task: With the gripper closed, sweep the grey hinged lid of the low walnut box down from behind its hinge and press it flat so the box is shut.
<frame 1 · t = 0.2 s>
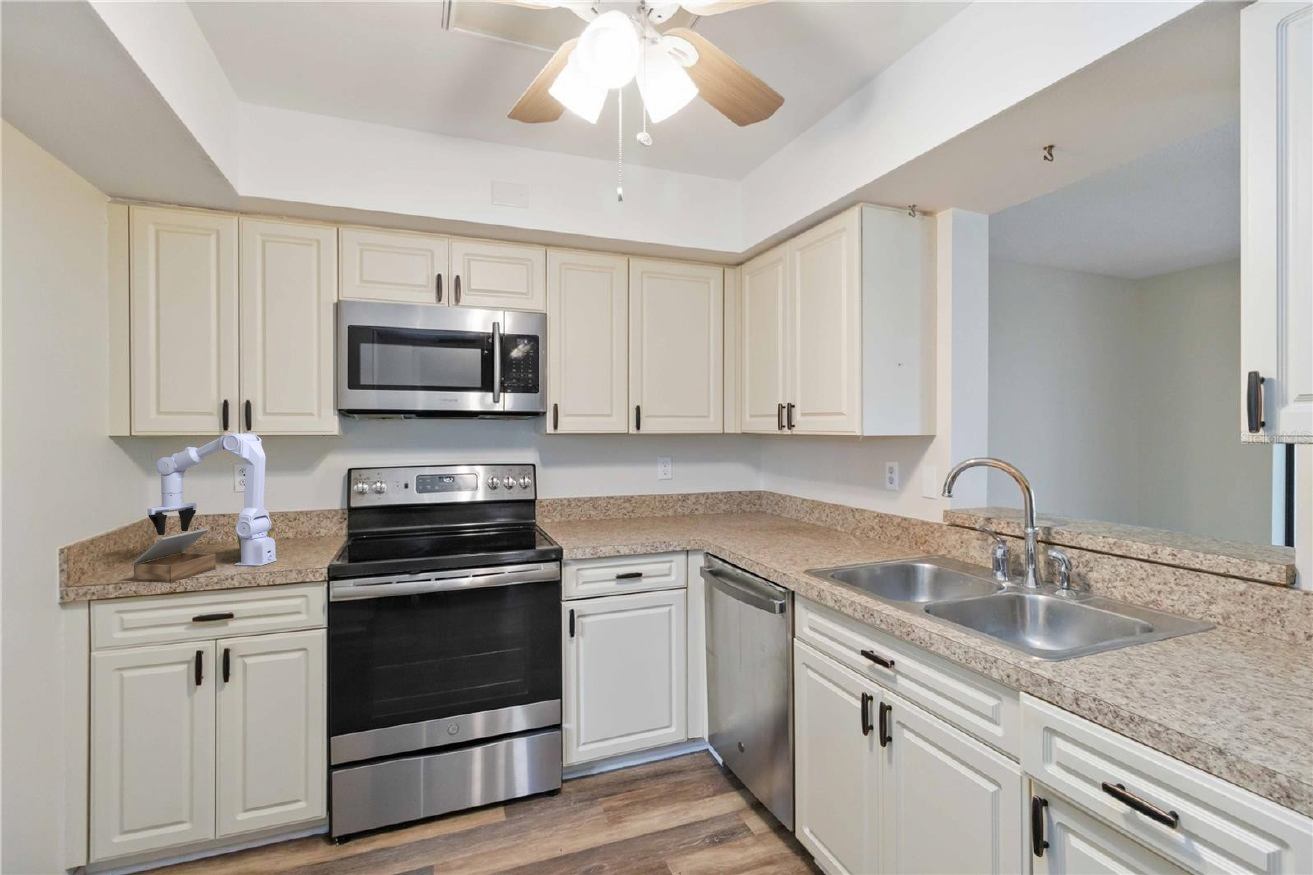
hand: (173, 533, 202), 10 cm above the worktop, tool pointing down, fingers open, 7 cm apart
lid: (172, 545, 186), point 9 cm above the worktop, hinge at 38.0°
box base: (176, 575, 186), on the worktop
plant pot: (253, 555, 215), on the worktop
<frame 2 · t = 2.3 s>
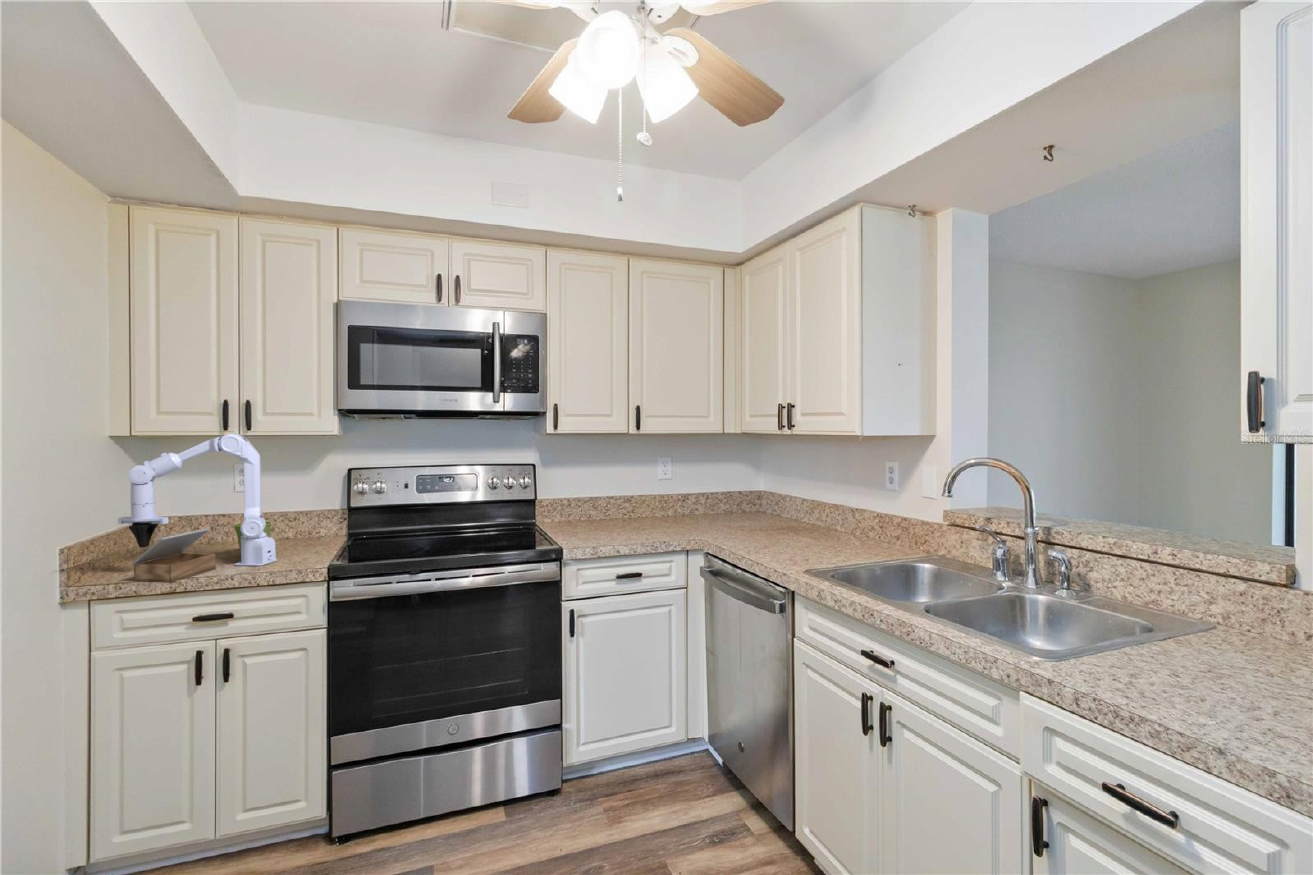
hand: (143, 546, 188), 8 cm above the worktop, tool pointing down, fingers closed
nothing on the worktop moved.
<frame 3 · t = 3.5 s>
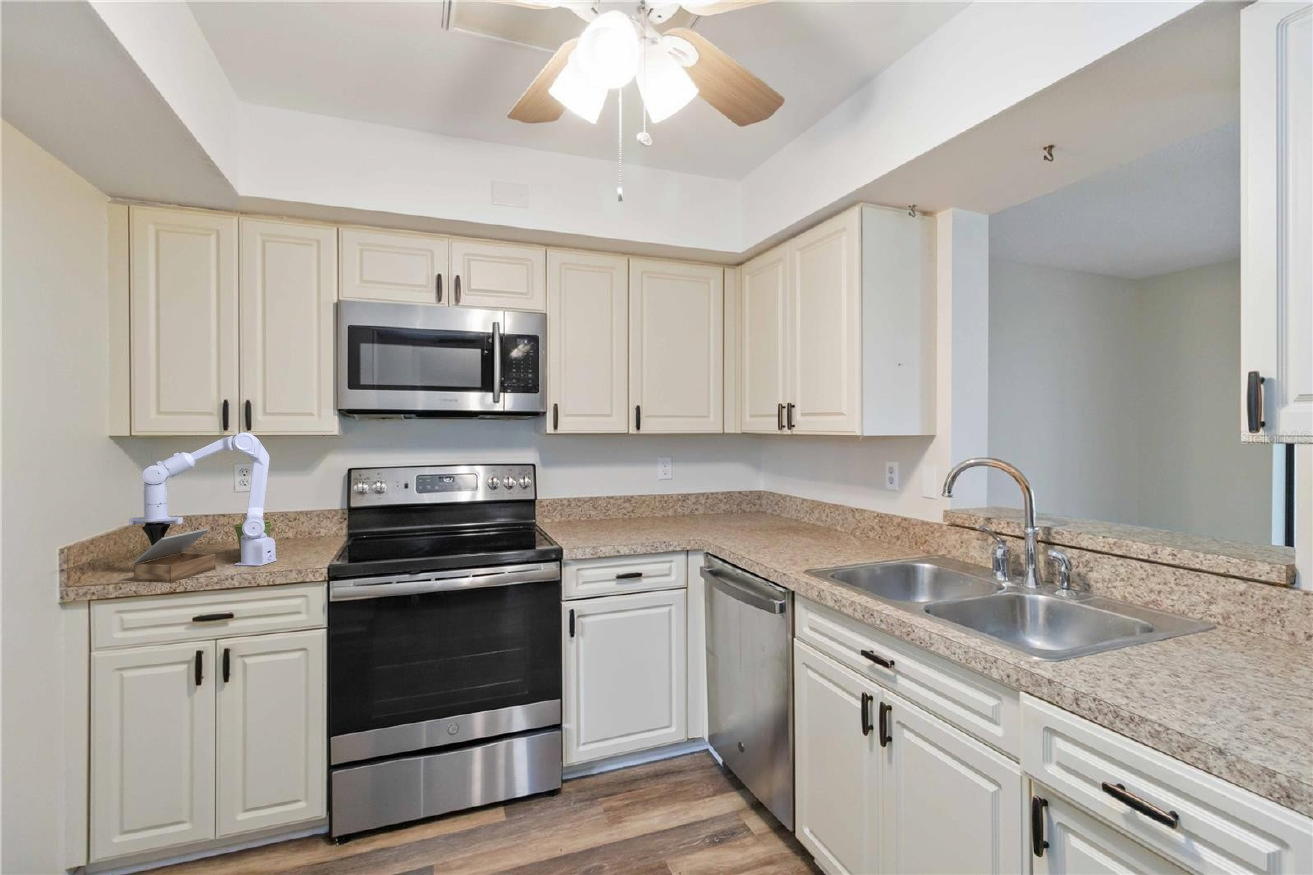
hand: (156, 547, 188), 8 cm above the worktop, tool pointing down, fingers closed
nothing on the worktop moved.
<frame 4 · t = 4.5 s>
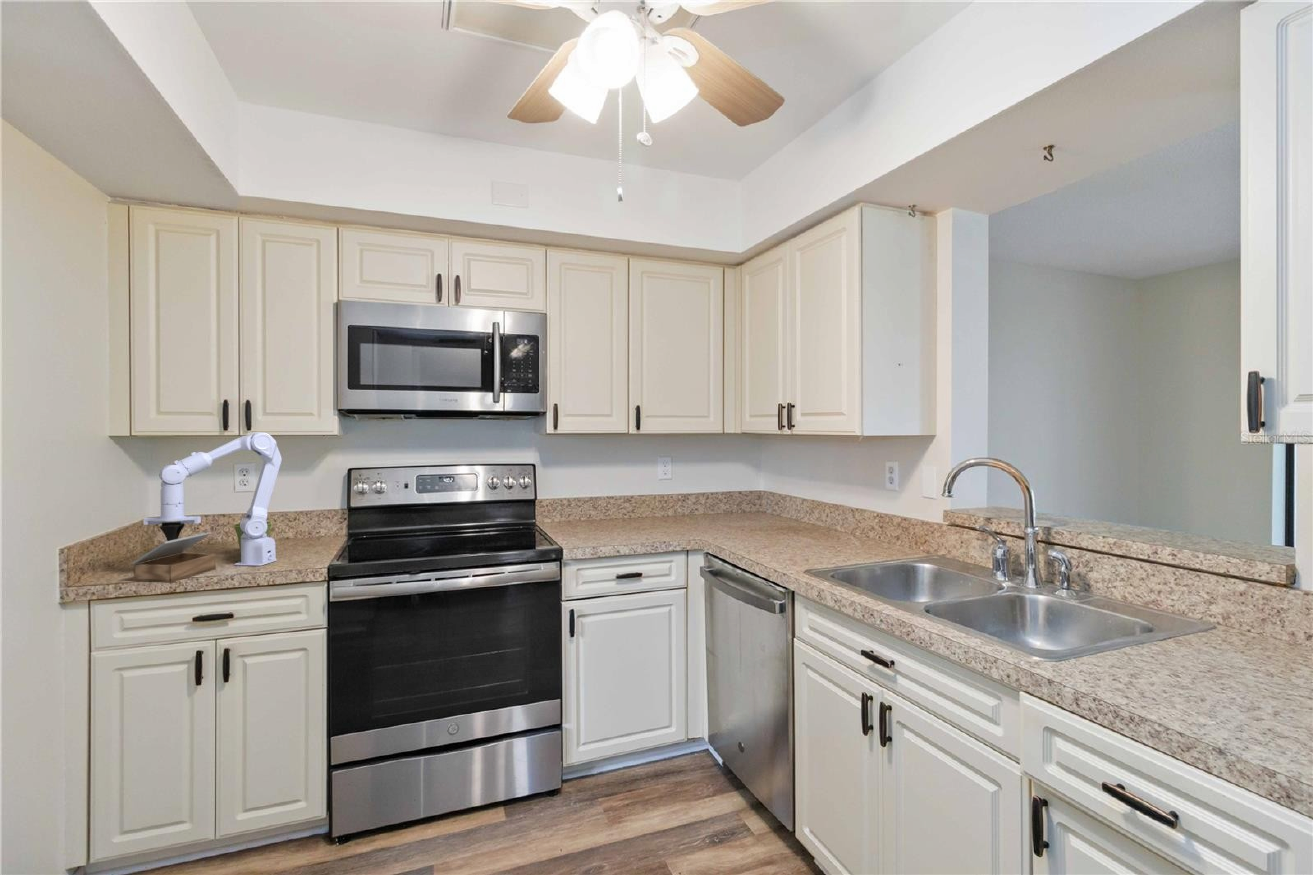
hand: (172, 546, 187), 9 cm above the worktop, tool pointing down, fingers closed, pressing on lid
lid: (173, 547, 186), point 9 cm above the worktop, hinge at 31.4°, touching gripper
everything else where it was.
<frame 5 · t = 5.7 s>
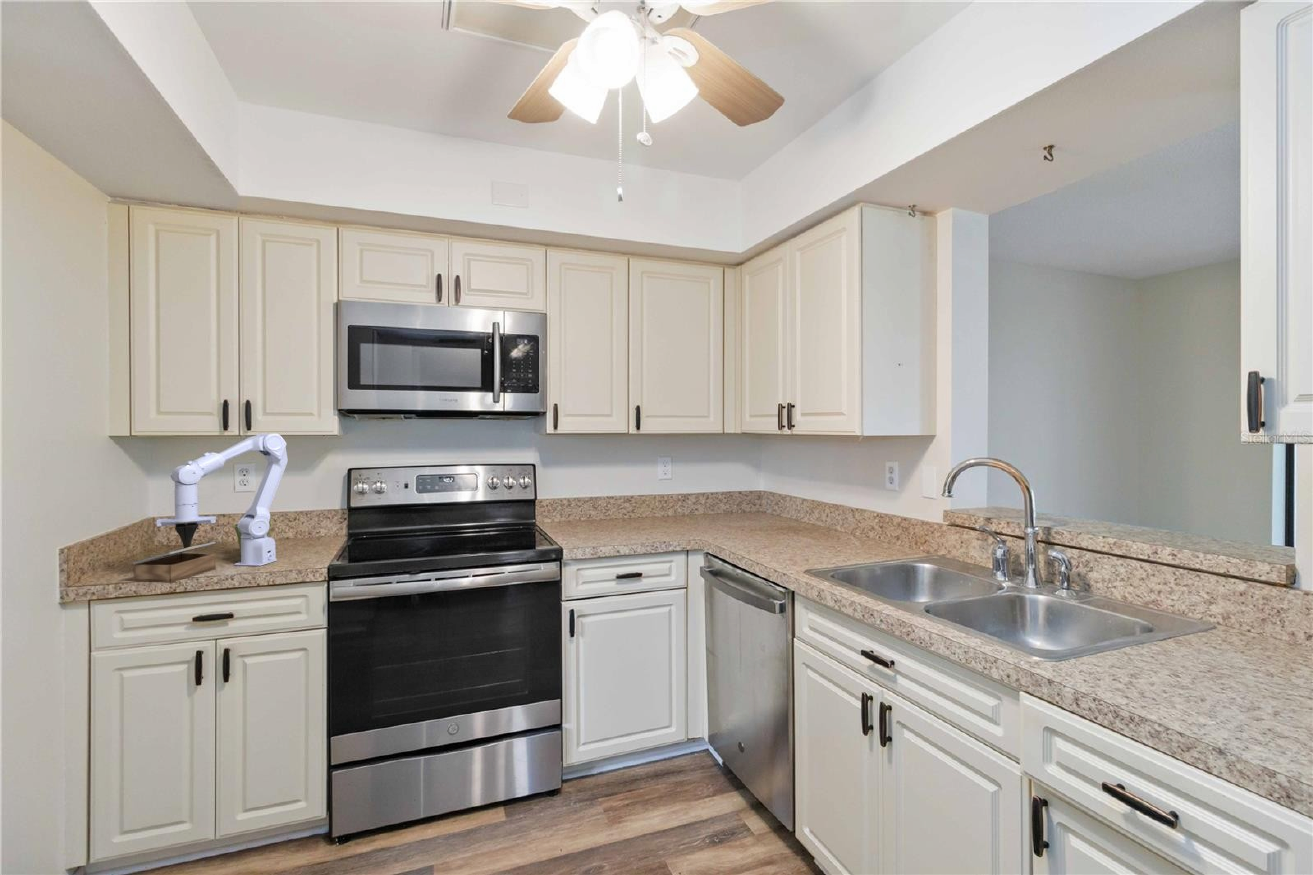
hand: (187, 547, 187), 8 cm above the worktop, tool pointing down, fingers closed, pressing on lid
lid: (175, 552, 186), point 7 cm above the worktop, hinge at 15.4°, touching gripper
everything else where it was.
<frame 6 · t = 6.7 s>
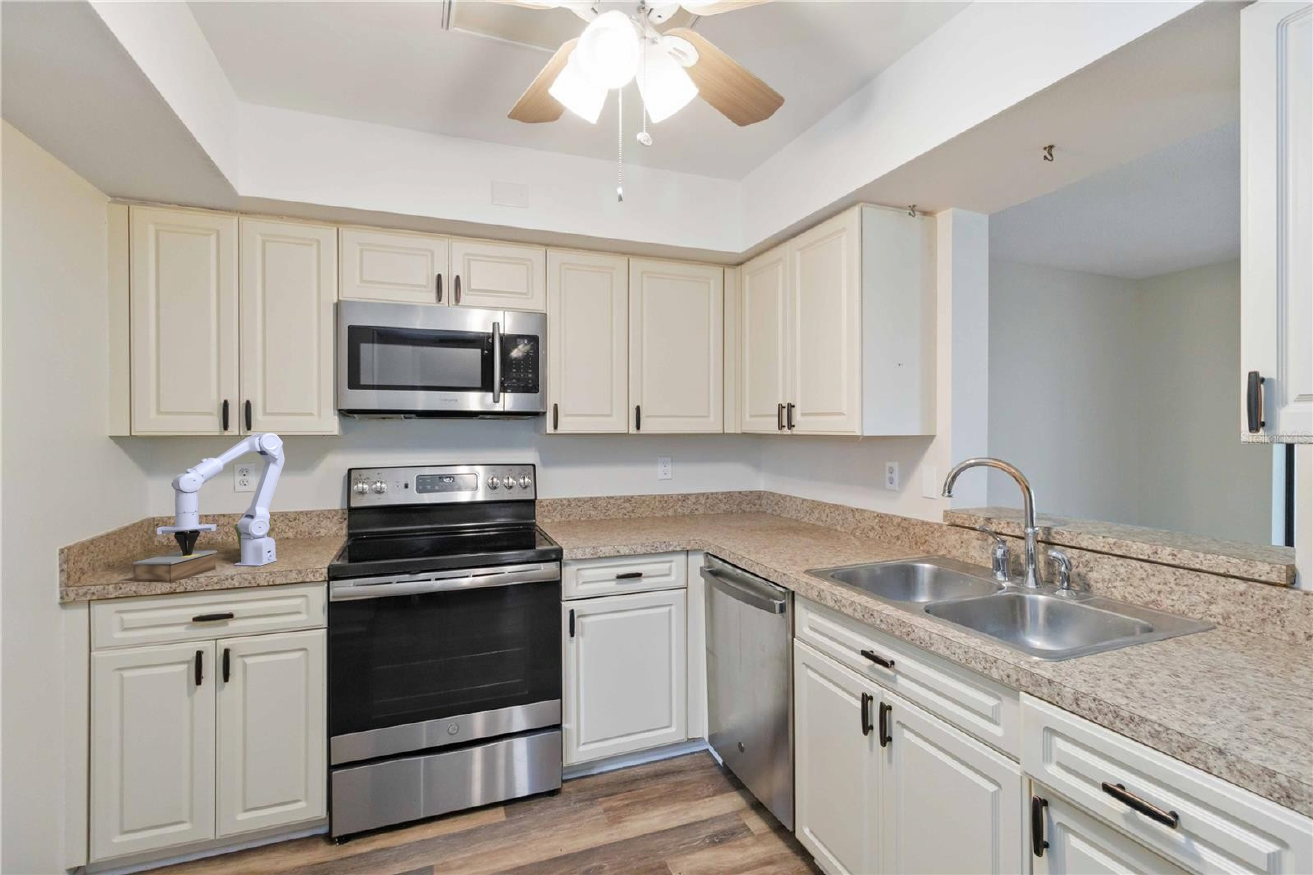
hand: (187, 555, 187), 6 cm above the worktop, tool pointing down, fingers closed, pressing on lid
lid: (176, 557, 186), point 6 cm above the worktop, hinge at 1.6°, touching gripper
everything else where it was.
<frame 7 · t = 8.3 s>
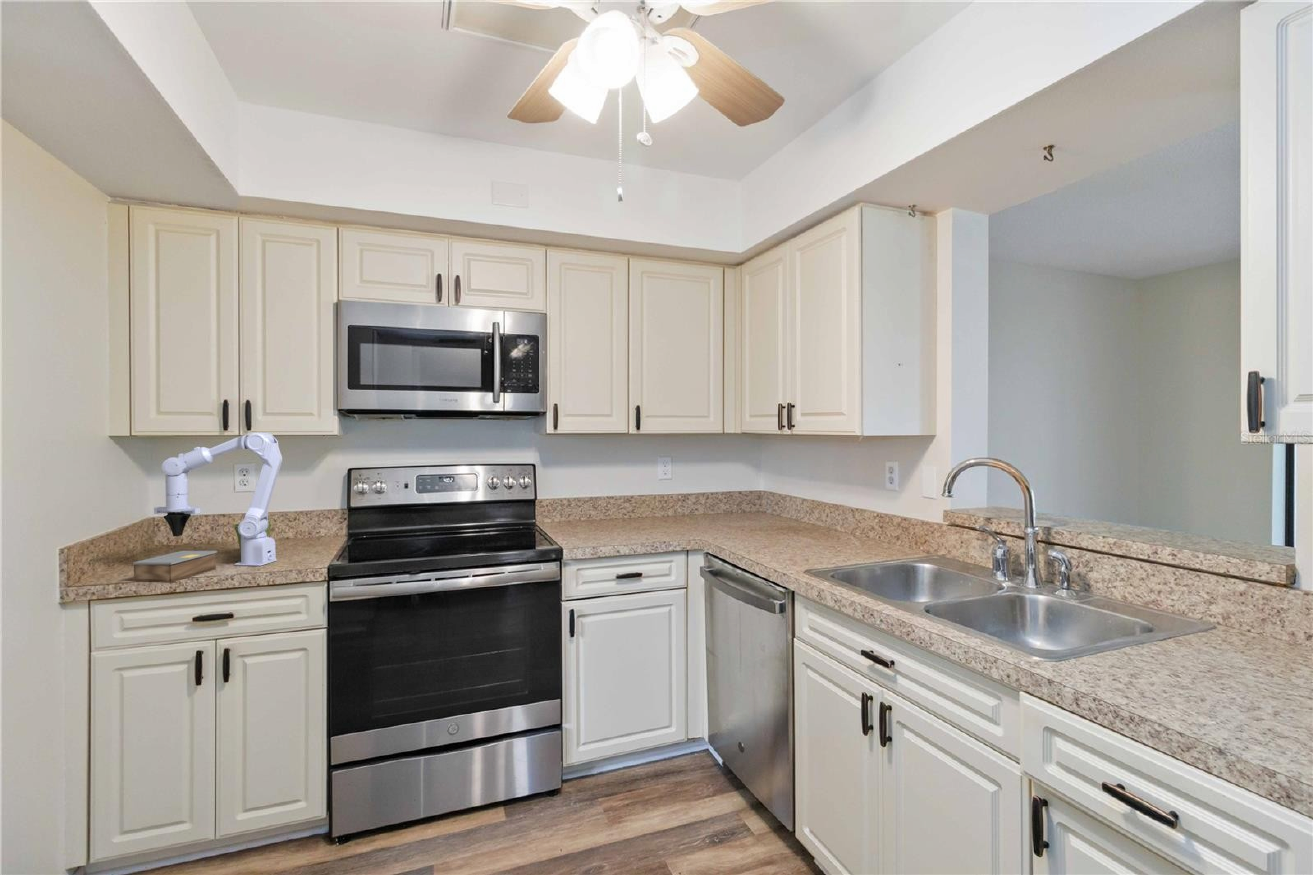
hand: (177, 535, 195), 10 cm above the worktop, tool pointing down, fingers closed
lid: (176, 557, 186), point 6 cm above the worktop, hinge at 1.2°
everything else where it was.
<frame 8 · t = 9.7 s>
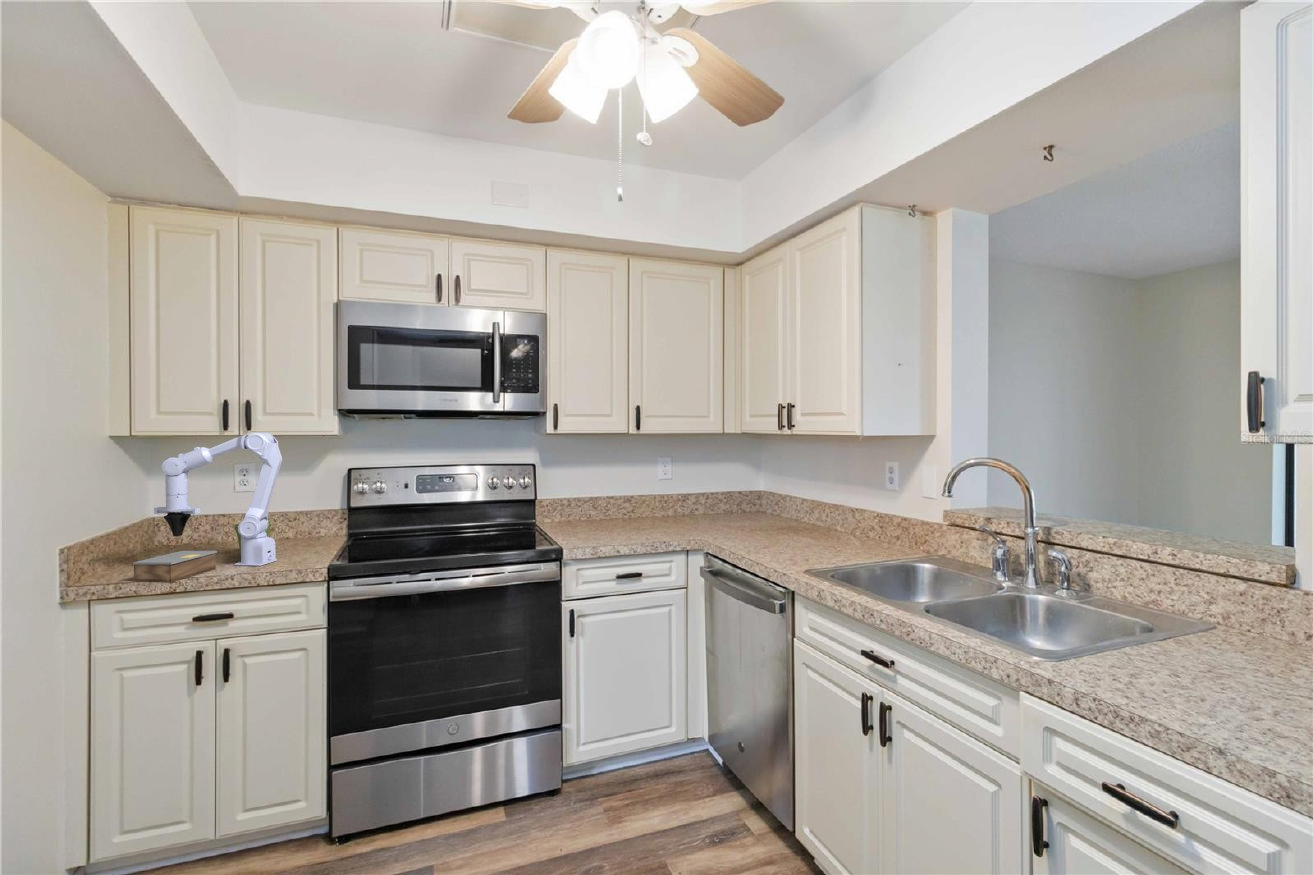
hand: (177, 535, 196), 10 cm above the worktop, tool pointing down, fingers closed
nothing on the worktop moved.
at the end: lid at +1° (first picture: +38°) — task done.
